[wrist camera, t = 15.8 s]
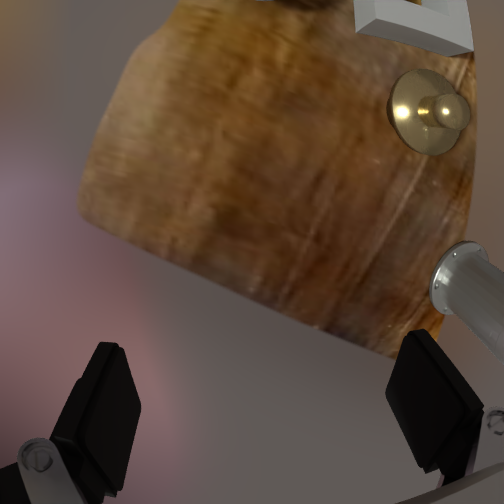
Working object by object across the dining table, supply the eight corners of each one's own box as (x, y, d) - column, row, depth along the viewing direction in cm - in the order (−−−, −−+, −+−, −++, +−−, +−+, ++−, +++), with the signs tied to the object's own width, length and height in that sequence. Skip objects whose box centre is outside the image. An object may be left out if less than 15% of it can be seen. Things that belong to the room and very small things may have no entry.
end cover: (435, 154, 35) (487, 167, 25) (370, 146, 34) (416, 154, 25) (436, 83, 31) (488, 77, 21) (371, 67, 31) (416, 51, 21)
